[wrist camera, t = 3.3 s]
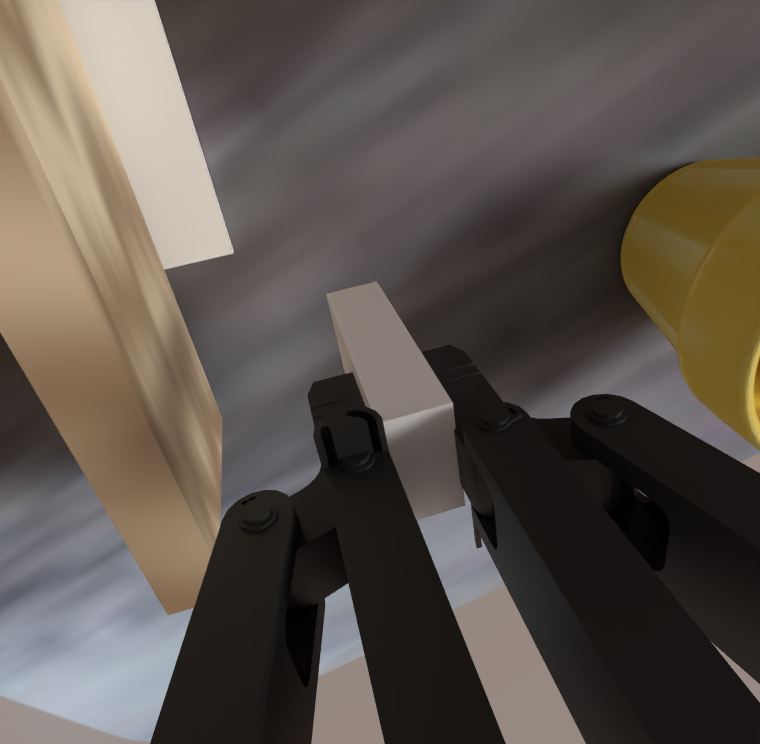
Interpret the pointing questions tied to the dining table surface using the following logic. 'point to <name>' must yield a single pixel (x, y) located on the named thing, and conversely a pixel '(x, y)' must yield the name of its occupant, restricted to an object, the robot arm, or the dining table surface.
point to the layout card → (150, 125)
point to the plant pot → (705, 281)
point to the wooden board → (100, 310)
